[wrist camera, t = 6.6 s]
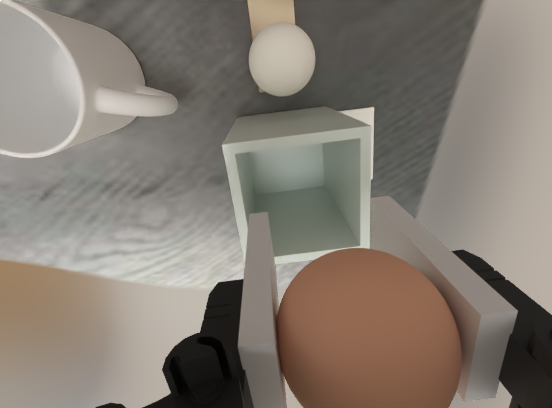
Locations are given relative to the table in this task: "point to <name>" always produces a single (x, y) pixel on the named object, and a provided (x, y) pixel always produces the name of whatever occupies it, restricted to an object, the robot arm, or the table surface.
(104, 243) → the table surface
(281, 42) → the ball
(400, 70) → the table surface
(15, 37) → the mug
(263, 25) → the rack
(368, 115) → the card
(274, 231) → the grey-green tall hollow box
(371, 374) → the ball
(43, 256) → the table surface
